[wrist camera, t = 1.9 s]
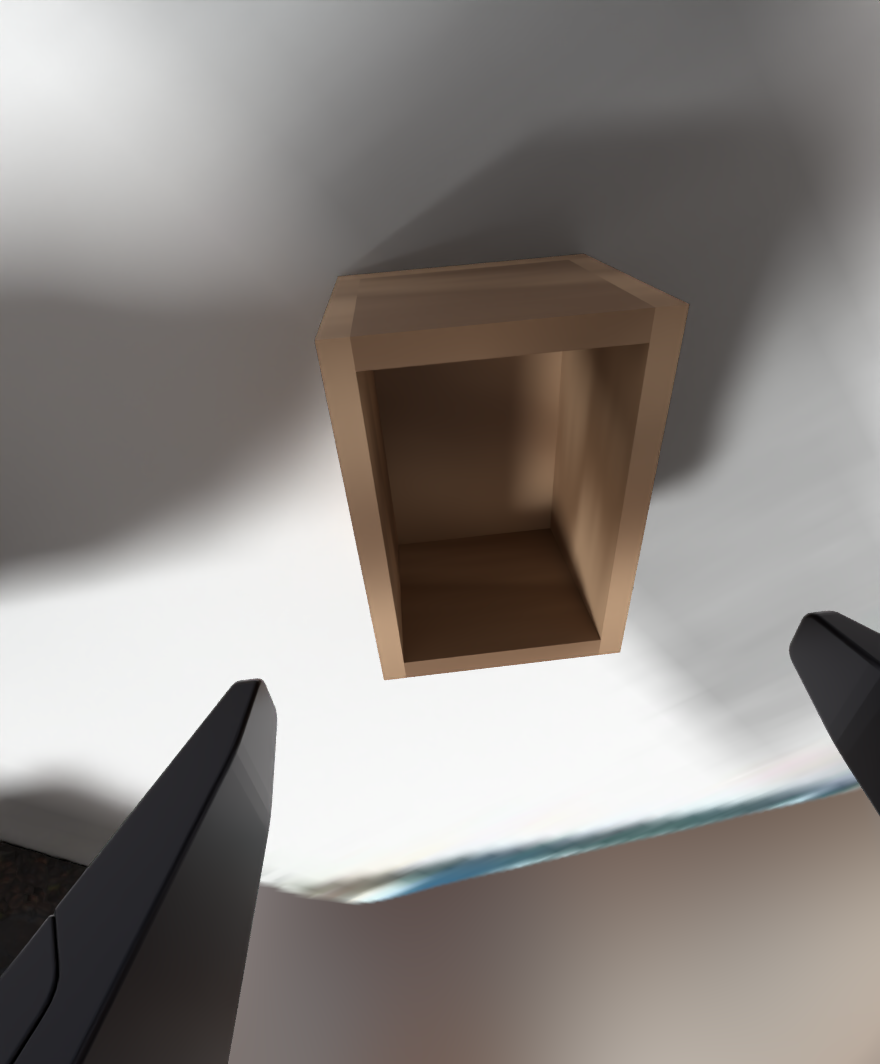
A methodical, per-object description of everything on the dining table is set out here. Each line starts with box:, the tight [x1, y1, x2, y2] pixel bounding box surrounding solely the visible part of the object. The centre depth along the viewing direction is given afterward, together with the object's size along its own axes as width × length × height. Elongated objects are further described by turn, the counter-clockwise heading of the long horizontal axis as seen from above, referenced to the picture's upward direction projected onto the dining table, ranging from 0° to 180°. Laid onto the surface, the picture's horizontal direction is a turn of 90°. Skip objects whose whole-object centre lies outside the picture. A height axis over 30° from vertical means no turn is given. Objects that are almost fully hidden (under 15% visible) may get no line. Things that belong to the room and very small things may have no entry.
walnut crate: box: [315, 254, 689, 680], centre depth 14 cm, size 9×6×6 cm
